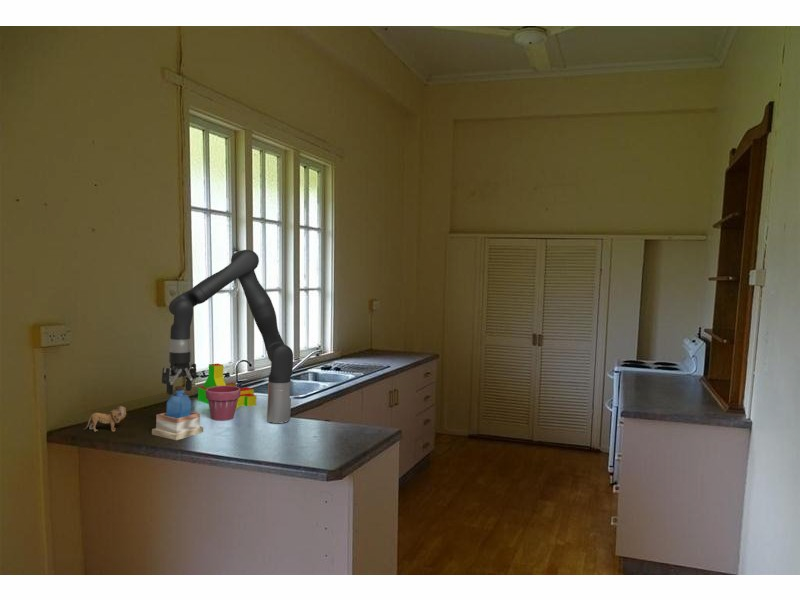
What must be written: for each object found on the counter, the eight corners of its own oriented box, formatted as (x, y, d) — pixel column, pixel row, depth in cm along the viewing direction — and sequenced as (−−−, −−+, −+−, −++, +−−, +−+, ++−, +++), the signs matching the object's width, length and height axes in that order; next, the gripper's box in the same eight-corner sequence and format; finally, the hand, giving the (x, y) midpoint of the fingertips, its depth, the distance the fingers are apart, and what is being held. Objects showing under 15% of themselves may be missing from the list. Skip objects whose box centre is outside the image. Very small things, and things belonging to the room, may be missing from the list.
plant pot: (197, 419, 230) (198, 389, 230) (220, 412, 243) (221, 383, 243) (224, 424, 225) (225, 393, 224) (246, 416, 238) (247, 387, 237)
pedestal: (179, 426, 218) (180, 408, 218) (203, 432, 212) (203, 413, 212) (151, 434, 207) (152, 414, 206) (176, 440, 201) (176, 420, 200)
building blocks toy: (224, 410, 247) (225, 371, 246) (197, 400, 264) (199, 363, 263) (260, 405, 261) (261, 367, 260) (232, 395, 278) (234, 360, 277)
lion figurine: (126, 427, 214) (127, 404, 214) (124, 431, 209) (125, 408, 209) (84, 429, 209) (84, 406, 209) (81, 433, 204) (81, 409, 204)
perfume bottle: (180, 420, 206) (181, 389, 205) (166, 418, 207) (167, 387, 206) (190, 416, 212) (191, 386, 211) (176, 415, 213) (177, 384, 212)
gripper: (171, 353, 200) (170, 397, 201) (201, 349, 213) (200, 390, 213) (157, 351, 203) (156, 394, 204) (187, 347, 216) (187, 388, 217)
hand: (179, 392), depth 209 cm, fingers open, 8 cm apart
